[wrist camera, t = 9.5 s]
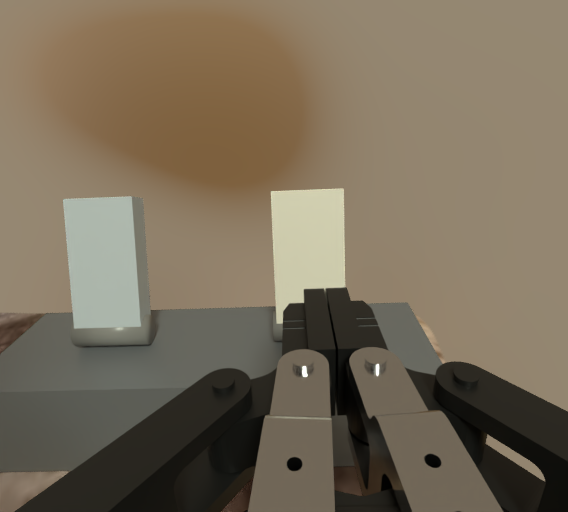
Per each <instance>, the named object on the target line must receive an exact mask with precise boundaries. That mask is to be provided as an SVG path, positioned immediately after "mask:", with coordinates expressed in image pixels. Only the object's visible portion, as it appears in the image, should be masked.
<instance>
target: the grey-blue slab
mask: <svg viewBox="0 0 568 512" xmlns="http://www.w3.org/2000/svg"><path fill="white" fill-rule="evenodd" d="M63 204H64V216H65V228H66V239H67V251H68V263H69V274H70V284H71V285H70V286H71V298H72V309H73V323H72V326H71V331H70V337H71V341H72V343H73V345H75V346H77V347H81V346H118V345H150V344H151V343H152V342H153V340H154V336H155V320H154V318H153V316H152V315H151V310H150V296H149V281H148V267H147V253H146V236H145V222H144V207H143V198H138V197H132V196H131V197H108V198H107V197H106V198H81V199H63Z"/></svg>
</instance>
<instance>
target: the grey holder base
mask: <svg viewBox="0 0 568 512" xmlns="http://www.w3.org/2000/svg"><path fill="white" fill-rule="evenodd" d="M367 305H368V306H370V307H371V308H372V310H373V313H374V315H375V319H376V320H377V323H378V326H379V328H380V330H381V333H382V335H383V338H384V340H385V343H386V345H387V348H388V350H389V351H390V352H392V353H394V354H395V355H397V356H398V357H399V359H400V360H401V362H402V364H403V366H404V367H405V368H408V369H410V370H413V371H417V372H422V373H428V374H433V375H435V374H436V370H437V368H438V367H439V366H440V365H442V362H441V360H440V359H439V357H438V355H437V353H436V352H435V350H434V348H433V346H432V345H431V343H430V341H429V339H428V338H427V336H426V334H425V332H424V331H423V329H422V327H421V325H420V324H419V322H418V320H417V318H416V317H415V315H414V313H413V312H412V310H411V308H410V306H409V304H408V303H376V304H375V303H374V304H367ZM274 311H276V306H275V307H247V308H246V307H244V308H243V307H242V308H212V309H211V308H209V309H178V310H177V309H176V310H151V315H152V316H153V318H154V320H155V336H154V340H153V342H152V343H151V344H150V345H118V346H81V347H77V346H75V345H73V343H72V341H71V337H70V331H71V326H72V323H73V313H46V314H45V315H44V316H43V317H41V318H40V319H39V320H38V321H37V322H36V323H35V324H34V325H32V326H31V327H30V328H29V329H28V330H27V331H26V332H25V333H23V334H22V335H21V336H20V337H19V338H18V339H17V340H16V341H14V342H13V343H12V344H11V345H10V346H9V347H8V348H7V349H5V350H4V351H3V352H2V353H1V354H0V472H35V471H72V470H74V469H75V468H76V467H78V466H79V465H81V464H82V463H83V462H85V461H86V460H88V459H89V458H90V457H92V456H93V455H95V454H96V453H97V452H99V451H100V450H102V449H103V448H104V447H106V446H107V445H109V444H110V443H111V442H113V441H114V440H116V439H117V438H118V437H120V436H121V435H123V434H124V433H125V432H127V431H128V430H130V429H131V428H132V427H134V426H135V425H137V424H138V423H139V422H141V421H142V420H144V419H145V418H146V417H148V416H149V415H151V414H152V413H154V412H155V411H156V410H158V409H159V408H161V407H162V406H163V405H165V404H166V403H168V402H169V401H170V400H172V399H173V398H175V397H176V396H177V395H179V394H180V393H182V392H183V391H184V390H186V389H187V388H189V387H190V386H191V385H193V384H194V383H196V382H197V381H198V380H200V379H201V378H203V377H204V376H205V375H207V374H209V373H210V372H213V371H215V370H218V369H223V368H235V369H239V370H241V371H243V372H245V373H246V374H247V375H248V376H249V378H250V379H254V378H258V377H261V376H264V375H267V374H269V373H270V372H272V371H273V370H275V369H276V368H277V365H278V362H279V360H280V358H281V357H282V341H274V334H273V312H274ZM331 419H332V444H333V466H355V465H354V461H353V457H352V453H351V450H350V446H349V442H348V421H347V416H346V415H340V416H338V415H337V408H336V402H335V416H331Z"/></svg>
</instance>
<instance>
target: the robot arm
mask: <svg viewBox="0 0 568 512" xmlns="http://www.w3.org/2000/svg"><path fill="white" fill-rule="evenodd" d="M335 402H336V408H337V415H338V416H340V415H346V416H347V421H348V442H349V446H350V450H351V453H352V457H353V461H354V465H355V468H356V472H357V476H358V480H359V484H360V487H361V491H362V495H363V496H357V495H352V494H348V493H343V492H339V491H335V490H334V471H333V444H332V419H331V416H335ZM487 434H488V435H490V436H491V437H493V438H494V439H496V440H498V441H499V442H501V443H503V444H504V445H506V446H508V447H509V448H511V449H512V450H514V451H515V452H517V453H519V454H520V455H522V456H523V457H525V458H527V459H528V460H530V461H531V462H533V463H534V464H535V465H536V466H537V467H538V468H539V469H540V470H541V472H542V473H543V475H544V477H545V482H544V481H542V480H540V479H539V478H537V477H536V476H535V475H533V474H531V473H530V472H528V471H527V470H525V469H524V468H522V467H520V466H519V465H517V464H516V463H514V462H513V461H511V460H510V459H508V458H507V457H505V456H503V455H502V454H500V453H499V452H497V451H496V450H494V449H493V448H491V447H490V446H488V445H486V444H485V443H486V438H487ZM253 476H254V479H253V485H252V491H251V497H250V503H249V508H248V510H246V511H244V512H568V412H567V411H565V410H563V409H561V408H559V407H557V406H555V405H553V404H551V403H549V402H547V401H545V400H543V399H541V398H539V397H537V396H535V395H533V394H531V393H529V392H527V391H525V390H523V389H521V388H519V387H517V386H515V385H513V384H511V383H509V382H507V381H505V380H503V379H501V378H499V377H497V376H495V375H493V374H491V373H489V372H487V371H485V370H483V369H481V368H479V367H477V366H475V365H472V364H469V363H464V362H448V363H444V364H442V365H440V366H439V367H438V368H437V370H436V374H435V375H433V374H428V373H422V372H417V371H413V370H410V369H408V368H405V367H404V366H403V364H402V362H401V360H400V359H399V357H398V356H397V355H395V354H394V353H392V352H390V351H389V350H388V348H387V345H386V343H385V340H384V338H383V335H382V333H381V330H380V328H379V326H378V323H377V320H376V319H375V315H374V313H373V310H372V308H371V307H370V306H368V305H367V304H366V303H365V302H364V301H351V300H350V297H349V294H348V290H347V288H346V287H342V288H326V289H325V290H324V288H317V289H304V303H289V304H288V306H287V307H286V308H285V310H284V311H283V333H282V357H281V358H280V360H279V362H278V365H277V368H276V369H275V370H273V371H272V372H270V373H269V374H267V375H264V376H261V377H258V378H254V379H250V378H249V376H248V375H247V374H246V373H245V372H243V371H241V370H239V369H235V368H223V369H218V370H215V371H213V372H210V373H209V374H207V375H205V376H204V377H203V378H201V379H200V380H198V381H197V382H196V383H194V384H193V385H191V386H190V387H189V388H187V389H186V390H184V391H183V392H182V393H180V394H179V395H177V396H176V397H175V398H173V399H172V400H170V401H169V402H168V403H166V404H165V405H163V406H162V407H161V408H159V409H158V410H156V411H155V412H154V413H152V414H151V415H149V416H148V417H146V418H145V419H144V420H142V421H141V422H139V423H138V424H137V425H135V426H134V427H132V428H131V429H130V430H128V431H127V432H125V433H124V434H123V435H121V436H120V437H118V438H117V439H116V440H114V441H113V442H111V443H110V444H109V445H107V446H106V447H104V448H103V449H102V450H100V451H99V452H97V453H96V454H95V455H93V456H92V457H90V458H89V459H88V460H86V461H85V462H83V463H82V464H81V465H79V466H78V467H76V468H75V469H74V470H72V471H71V472H69V473H68V474H67V475H65V476H64V477H62V478H61V479H59V480H58V481H57V482H55V483H54V484H52V485H51V486H50V487H48V488H47V489H45V490H44V491H43V492H41V493H40V494H38V495H37V496H36V497H34V498H33V499H31V500H30V501H29V502H27V503H26V504H24V505H23V506H22V507H20V508H19V509H17V510H16V511H15V512H221V511H222V510H223V508H224V507H225V506H226V505H227V504H228V503H229V502H230V501H231V500H232V499H233V498H234V497H235V495H236V494H237V493H238V492H239V491H240V490H241V489H242V488H243V487H244V486H245V485H246V483H247V482H248V481H249V480H250V479H251V478H252V477H253Z"/></svg>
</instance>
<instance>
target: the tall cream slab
mask: <svg viewBox="0 0 568 512" xmlns="http://www.w3.org/2000/svg"><path fill="white" fill-rule="evenodd" d="M271 205H272V230H273V253H274V276H275V298H276V311H274V312H273V334H274V341H282V333H283V311H284V310H285V308H286V307H287V306H288V304H289V303H304V289H317V288H324V290H325V289H326V288H342V287H345V251H344V250H345V248H344V247H345V246H344V189H319V190H295V191H294V190H293V191H271Z"/></svg>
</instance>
